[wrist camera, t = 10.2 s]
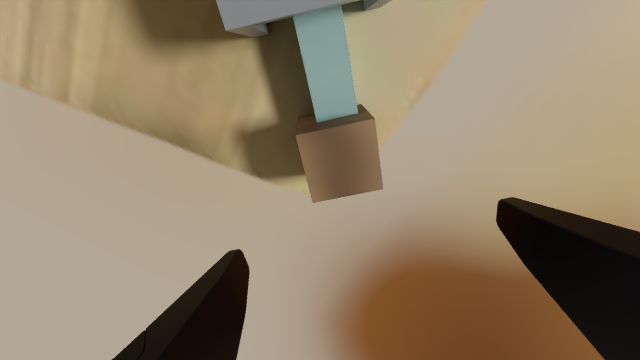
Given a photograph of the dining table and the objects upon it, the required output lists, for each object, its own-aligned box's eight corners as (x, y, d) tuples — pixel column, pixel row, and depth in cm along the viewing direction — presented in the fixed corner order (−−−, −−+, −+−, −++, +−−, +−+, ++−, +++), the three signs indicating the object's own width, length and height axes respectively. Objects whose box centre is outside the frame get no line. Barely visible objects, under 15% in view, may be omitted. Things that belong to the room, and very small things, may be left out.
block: (361, 104, 19) (374, 118, 15) (369, 162, 21) (383, 189, 17) (298, 117, 19) (295, 135, 15) (312, 173, 21) (312, 202, 17)
